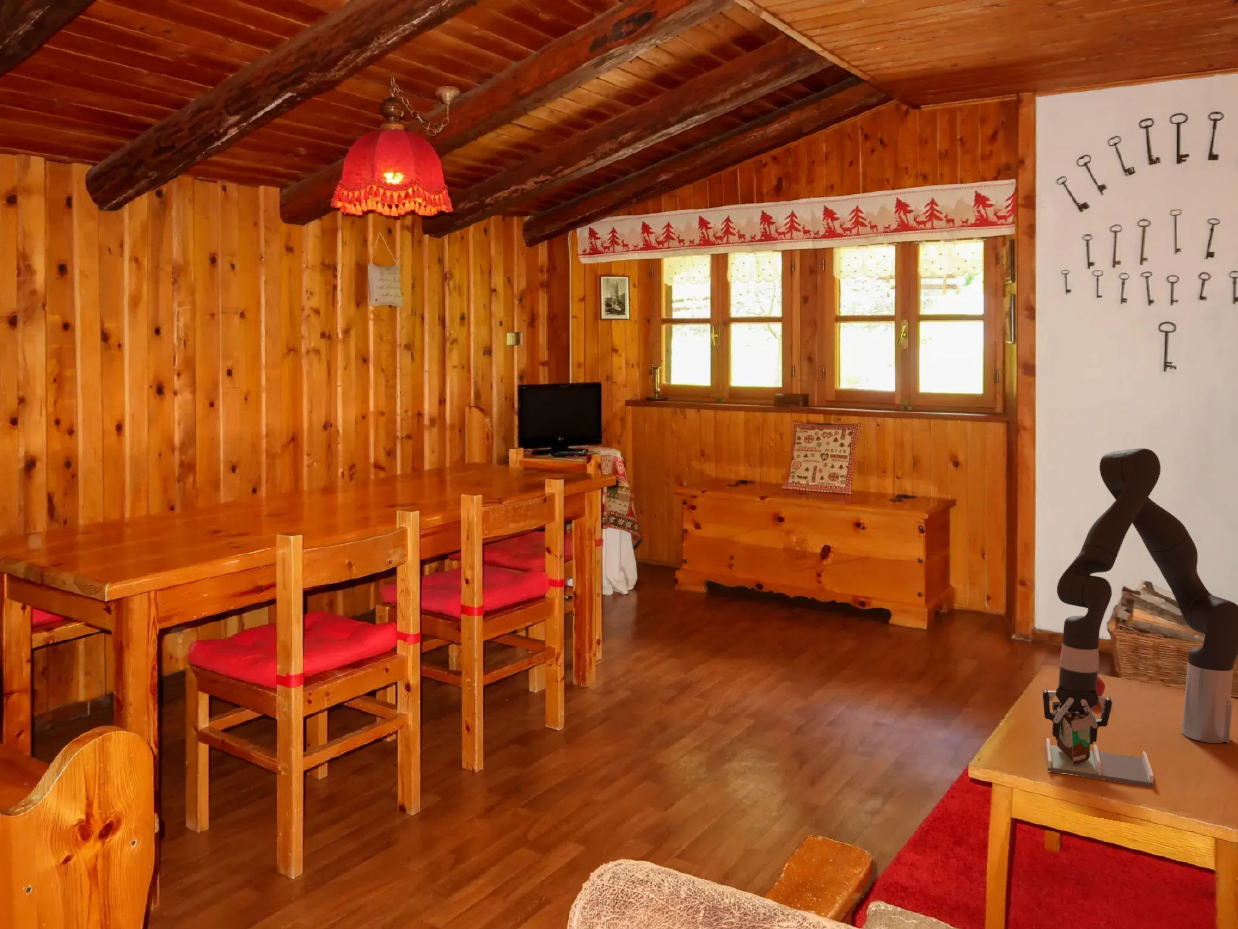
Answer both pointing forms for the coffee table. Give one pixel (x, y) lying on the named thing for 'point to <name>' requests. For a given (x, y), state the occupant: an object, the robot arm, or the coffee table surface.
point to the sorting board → (1103, 766)
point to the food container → (1074, 735)
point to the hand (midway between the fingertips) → (1073, 740)
